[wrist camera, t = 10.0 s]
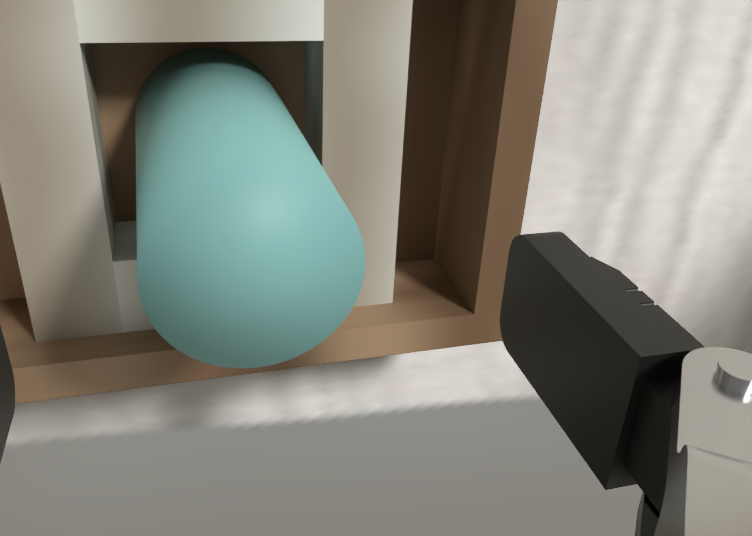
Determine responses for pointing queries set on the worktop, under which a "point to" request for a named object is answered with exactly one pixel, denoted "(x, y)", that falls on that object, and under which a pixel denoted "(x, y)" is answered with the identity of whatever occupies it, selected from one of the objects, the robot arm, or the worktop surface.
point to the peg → (236, 218)
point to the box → (323, 134)
